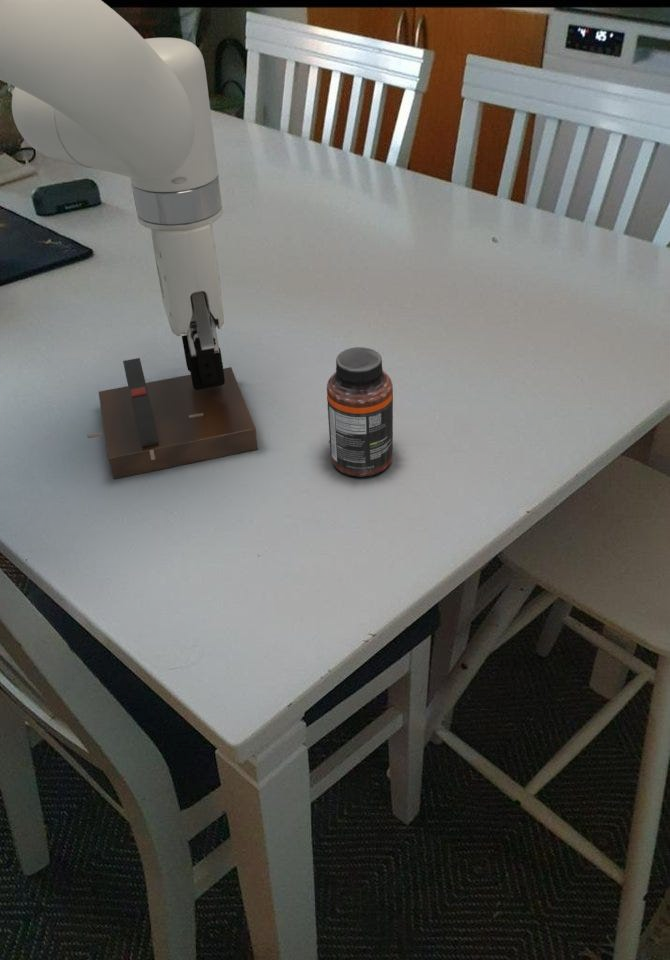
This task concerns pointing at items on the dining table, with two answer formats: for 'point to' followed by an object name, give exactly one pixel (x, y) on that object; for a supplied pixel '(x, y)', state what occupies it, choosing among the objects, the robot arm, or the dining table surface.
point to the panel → (176, 425)
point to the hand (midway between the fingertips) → (205, 375)
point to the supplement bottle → (360, 413)
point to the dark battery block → (140, 402)
